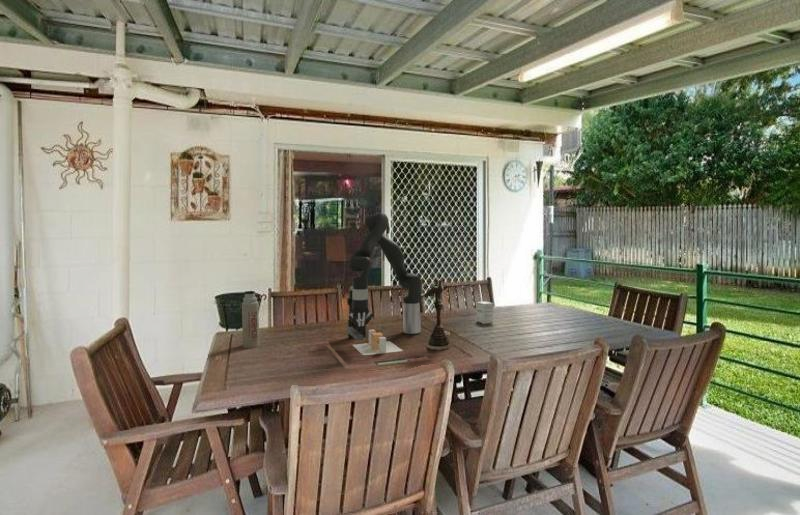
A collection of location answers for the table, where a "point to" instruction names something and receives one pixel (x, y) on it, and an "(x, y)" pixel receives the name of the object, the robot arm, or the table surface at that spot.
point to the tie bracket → (383, 346)
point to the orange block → (375, 340)
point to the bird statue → (438, 335)
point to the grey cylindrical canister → (484, 312)
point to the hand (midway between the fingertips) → (360, 333)
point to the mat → (391, 362)
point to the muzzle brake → (350, 324)
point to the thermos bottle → (250, 320)
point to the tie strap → (354, 333)
